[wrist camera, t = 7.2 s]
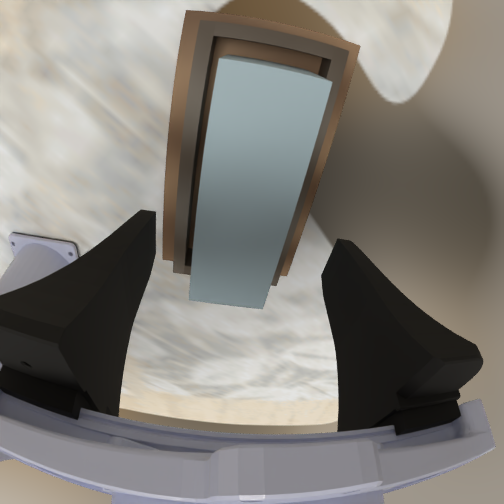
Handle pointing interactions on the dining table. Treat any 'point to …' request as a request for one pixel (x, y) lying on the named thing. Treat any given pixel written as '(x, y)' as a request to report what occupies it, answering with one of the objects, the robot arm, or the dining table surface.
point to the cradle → (199, 102)
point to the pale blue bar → (252, 175)
